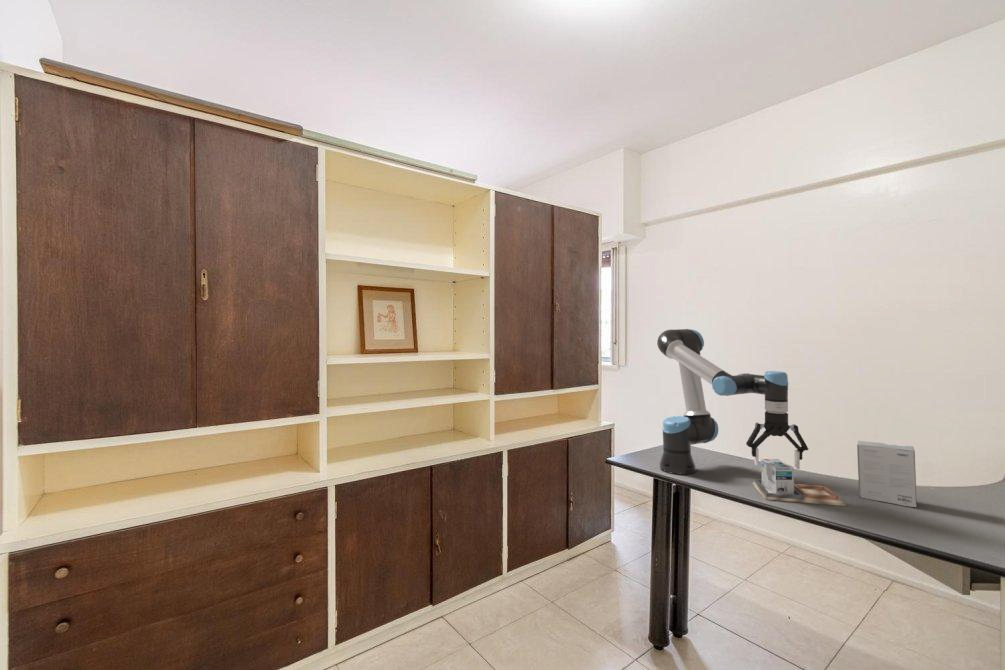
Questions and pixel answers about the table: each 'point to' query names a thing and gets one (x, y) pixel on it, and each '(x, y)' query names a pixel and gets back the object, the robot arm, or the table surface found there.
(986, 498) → the table surface
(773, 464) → the light bulb box
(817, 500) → the sorting board
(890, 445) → the hard drive box
